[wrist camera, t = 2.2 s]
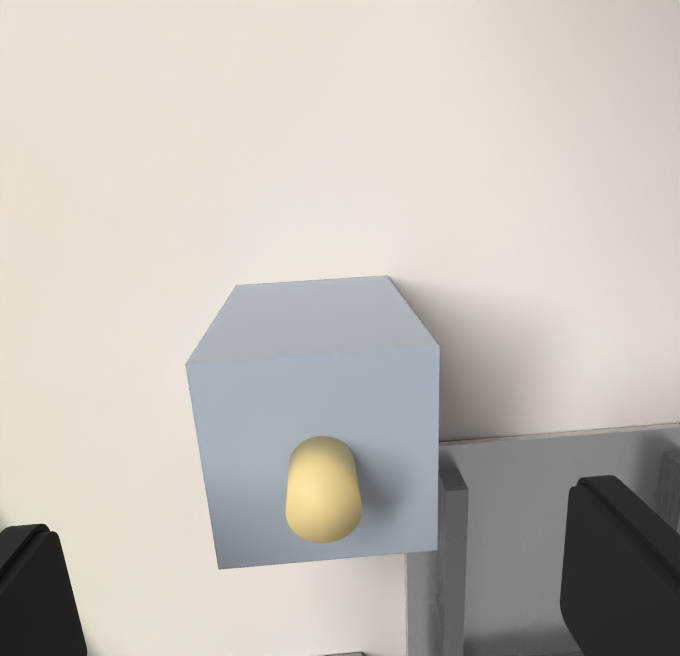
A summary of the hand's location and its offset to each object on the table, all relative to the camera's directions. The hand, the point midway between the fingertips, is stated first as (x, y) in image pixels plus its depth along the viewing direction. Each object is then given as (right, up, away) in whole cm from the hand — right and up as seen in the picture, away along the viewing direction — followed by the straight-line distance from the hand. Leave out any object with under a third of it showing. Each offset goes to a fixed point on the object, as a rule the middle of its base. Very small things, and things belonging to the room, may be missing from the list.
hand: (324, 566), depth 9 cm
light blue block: (0, +4, +8) cm, 9 cm away
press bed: (+9, -5, +11) cm, 15 cm away
